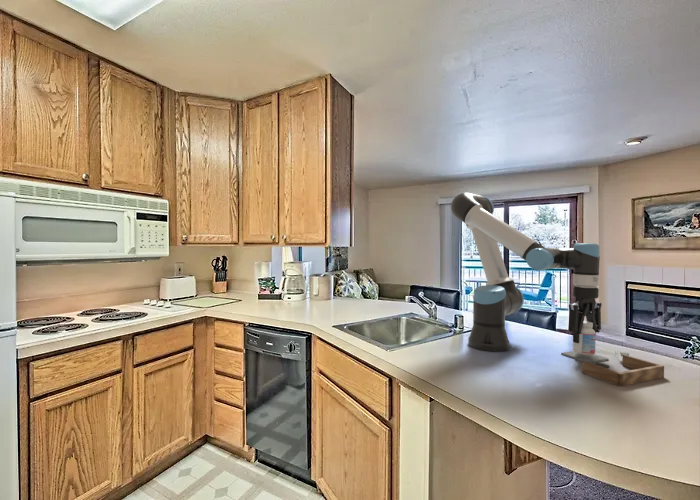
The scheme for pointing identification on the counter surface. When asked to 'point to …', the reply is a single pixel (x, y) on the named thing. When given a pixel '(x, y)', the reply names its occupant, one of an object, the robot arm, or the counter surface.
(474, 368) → the counter surface
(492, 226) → the robot arm
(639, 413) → the counter surface
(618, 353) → the crook tool
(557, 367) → the counter surface
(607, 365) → the disc
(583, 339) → the pill bottle
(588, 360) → the coaster
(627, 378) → the cubby
